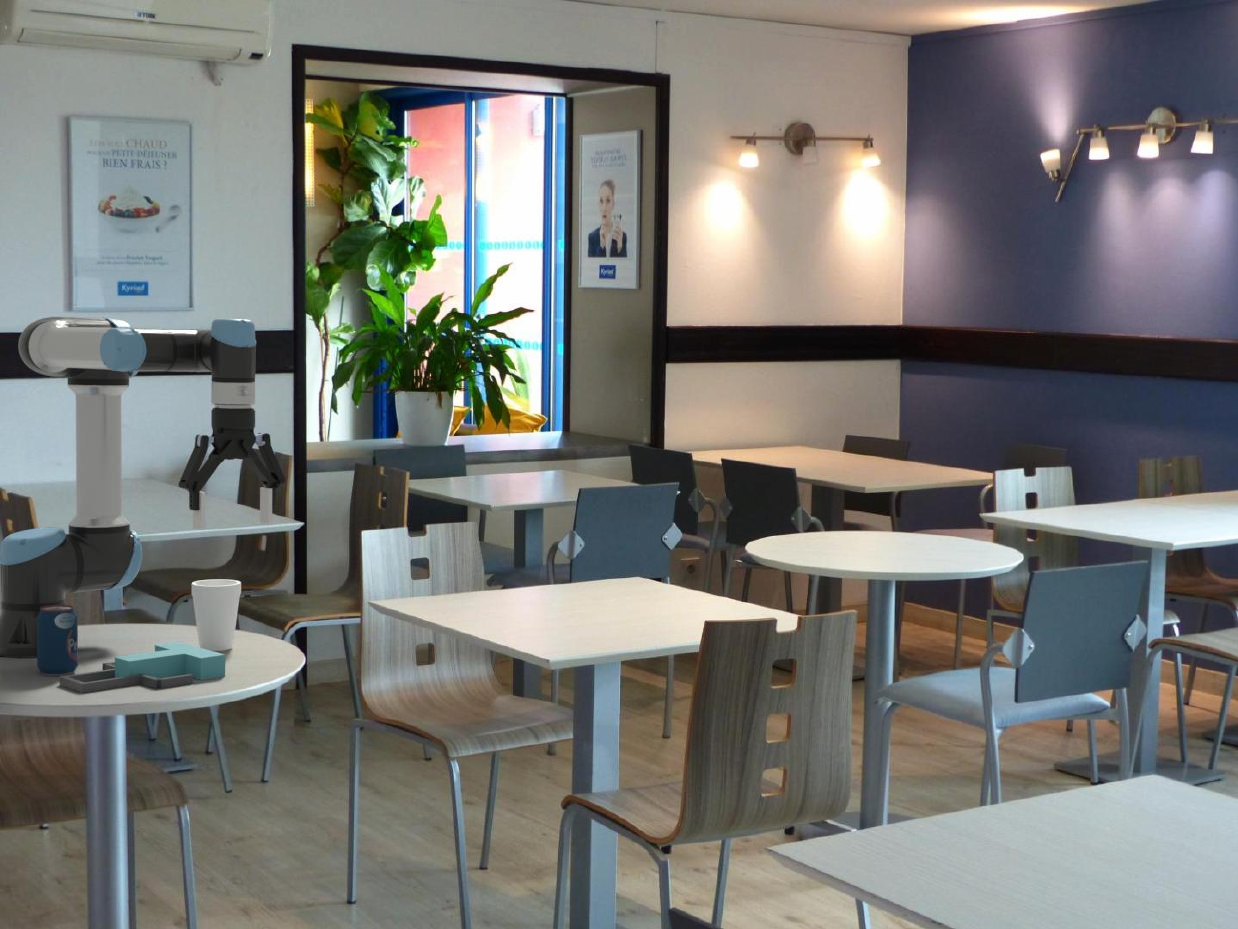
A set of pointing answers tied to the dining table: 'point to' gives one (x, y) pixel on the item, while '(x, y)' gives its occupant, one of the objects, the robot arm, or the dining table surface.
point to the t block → (173, 662)
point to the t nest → (117, 680)
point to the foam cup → (216, 612)
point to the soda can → (57, 640)
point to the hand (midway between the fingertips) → (233, 526)
